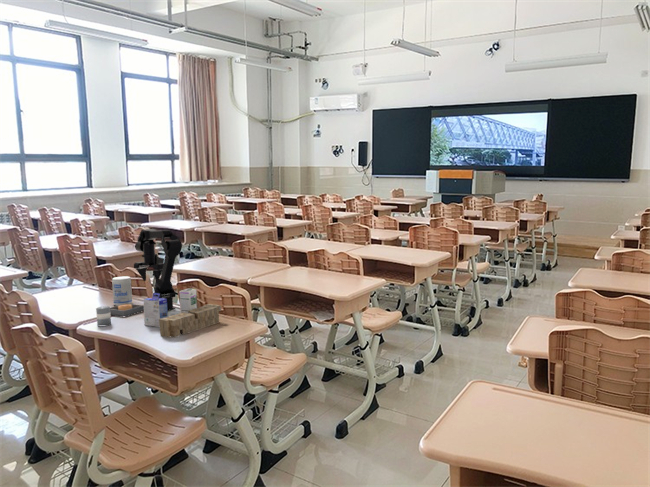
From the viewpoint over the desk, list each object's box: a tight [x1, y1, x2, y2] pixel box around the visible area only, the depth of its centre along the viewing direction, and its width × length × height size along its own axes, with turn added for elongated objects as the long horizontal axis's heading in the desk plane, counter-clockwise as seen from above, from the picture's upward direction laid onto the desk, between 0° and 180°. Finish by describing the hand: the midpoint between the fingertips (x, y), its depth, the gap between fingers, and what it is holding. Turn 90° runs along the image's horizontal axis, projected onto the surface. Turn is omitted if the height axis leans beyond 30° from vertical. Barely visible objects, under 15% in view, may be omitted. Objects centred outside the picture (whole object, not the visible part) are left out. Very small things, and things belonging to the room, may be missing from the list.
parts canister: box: [95, 305, 112, 326], centre depth 228 cm, size 6×6×8 cm
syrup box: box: [179, 288, 199, 313], centre depth 233 cm, size 6×6×14 cm
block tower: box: [159, 303, 222, 338], centre depth 219 cm, size 8×8×29 cm
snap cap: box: [118, 303, 132, 311], centre depth 249 cm, size 7×7×3 cm
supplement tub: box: [111, 276, 133, 306], centre depth 268 cm, size 10×10×15 cm
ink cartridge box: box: [142, 292, 169, 328], centre depth 225 cm, size 10×6×14 cm, turn 65°
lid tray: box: [110, 303, 144, 317], centre depth 249 cm, size 12×12×3 cm
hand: (151, 281), depth 263 cm, fingers open, 9 cm apart
